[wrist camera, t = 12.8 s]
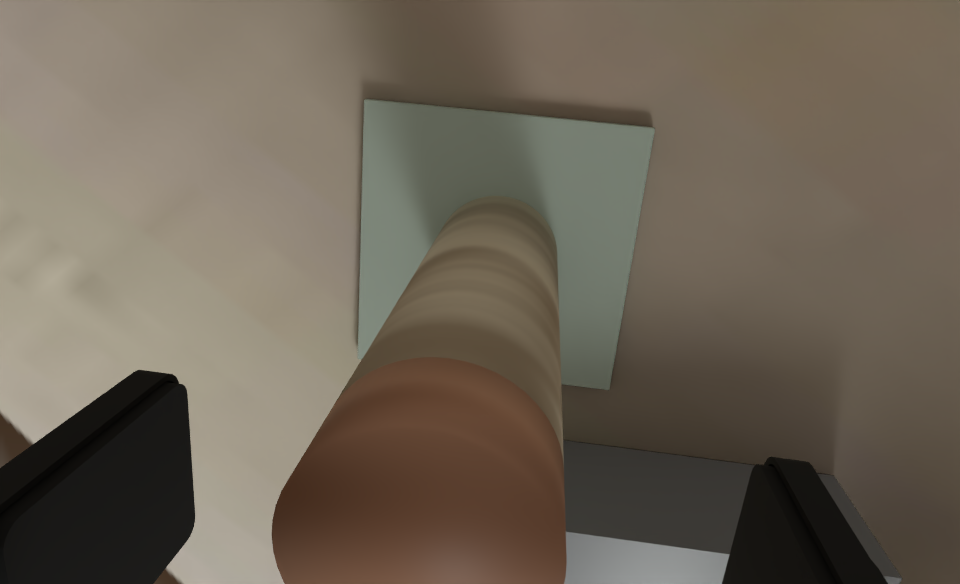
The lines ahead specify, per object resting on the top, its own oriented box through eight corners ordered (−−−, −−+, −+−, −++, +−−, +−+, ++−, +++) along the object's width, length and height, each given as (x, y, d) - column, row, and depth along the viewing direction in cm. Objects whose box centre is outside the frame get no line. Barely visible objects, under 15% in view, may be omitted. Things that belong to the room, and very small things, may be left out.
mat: (607, 384, 24) (609, 390, 23) (360, 353, 24) (357, 358, 24) (653, 127, 20) (654, 128, 20) (367, 98, 21) (364, 99, 21)
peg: (549, 317, 23) (547, 687, 9) (433, 304, 23) (274, 646, 10) (564, 202, 21) (586, 449, 8) (440, 189, 21) (268, 408, 8)
